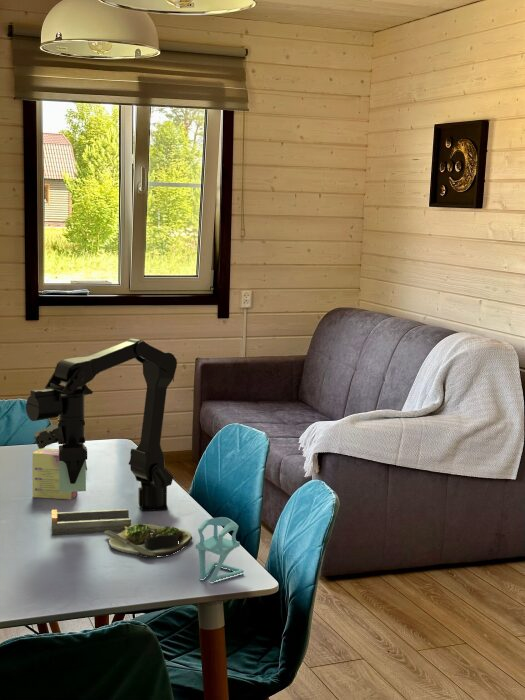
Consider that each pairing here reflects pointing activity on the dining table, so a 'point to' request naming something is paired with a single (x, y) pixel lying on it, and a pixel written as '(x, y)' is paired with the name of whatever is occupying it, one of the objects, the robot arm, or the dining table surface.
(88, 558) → the dining table surface
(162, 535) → the salad plate
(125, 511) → the rail
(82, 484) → the module
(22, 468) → the dining table surface
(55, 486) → the box
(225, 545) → the chair
